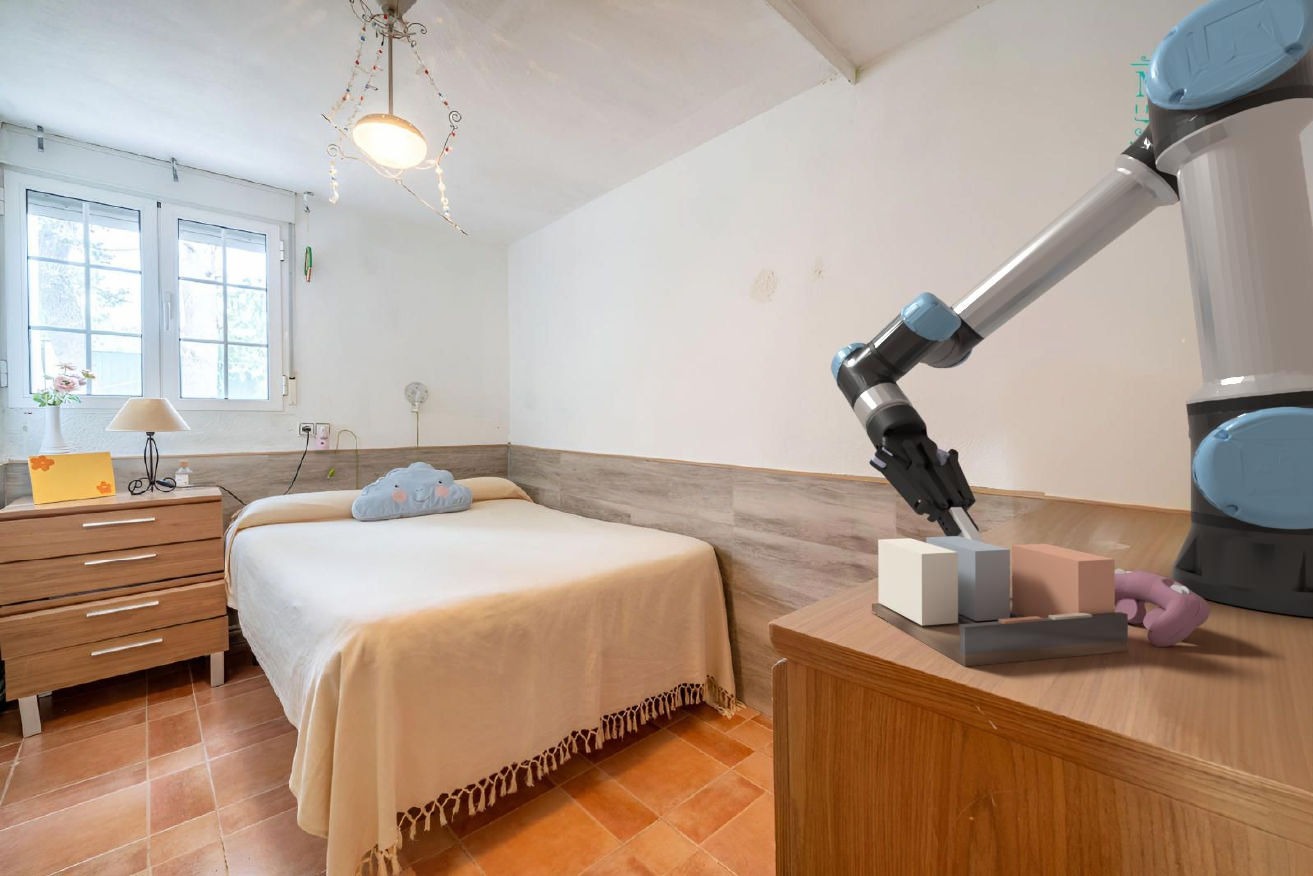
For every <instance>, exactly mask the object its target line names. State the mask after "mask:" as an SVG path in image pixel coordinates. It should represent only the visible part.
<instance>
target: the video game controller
mask: <svg viewBox="0 0 1313 876" xmlns="http://www.w3.org/2000/svg"><path fill="white" fill-rule="evenodd" d="M1145 603H1150V604H1153V605H1155V606H1157V608H1153V609H1151V610H1150V611H1148V612H1147V609H1146V606H1145ZM1115 612H1122V613H1126V614H1128V624H1129V623H1130V624H1129V625H1134V626H1135V625H1140V624H1142V623H1143V626H1144V627H1145V629H1147V639H1148V641H1149V643H1150V644H1151V645H1153V646H1154V647H1159V648H1164V647H1165V648H1166V647H1170V646H1171V647H1173V645H1176V644H1179V643H1181V642H1182V641H1183V640H1185V639H1186V638H1188V637H1189V636H1190V635H1191V634H1192V633H1193V632H1194V630H1195V629H1196V628H1198V627H1199V626H1201V625H1203V624H1205V623H1206V621H1207V620H1208V619H1209V616H1210V614H1211V608H1210V605H1209V603H1208V602H1207V601H1206V600H1205V598H1202V597H1200V596H1198V595H1197V594H1195V593H1194V592H1192V591H1191V590H1190V589H1189V588H1187V587H1185V586H1184V585H1182V584H1180V583H1178V582H1176V581H1174V580H1172V578H1169V577H1166V576H1163V575H1160V574H1156V573H1153V572H1149V571H1144V570H1136V571H1135V570H1134V571H1130V570H1129V571H1127V570H1126V571H1125V570H1124V569H1122V568H1116V569H1115Z"/></svg>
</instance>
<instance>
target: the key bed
mask: <svg viewBox="0 0 1313 876" xmlns="http://www.w3.org/2000/svg"><path fill="white" fill-rule="evenodd" d="M872 611H873V612H875V613H876V614H878V615H879V616H881V617H882V618H884V619H885V620H886V621H885V620H884V619H883V620H884V621H885V622H887V621H888V622H887V623H889V624H890V623H891V624H890V625H892V624H893V625H892V626H894V627H896V628H897V627H898V629H900V630H901V631H903V632H905V633H906V634H908V635H909V636H912V637H913V638H914V639H917V640H918V641H920V642H921V643H924V644H925V645H927V646H929V647H930V648H932V649H934V650H936V651H937V652H939V653H941V654H943V655H944V656H946V657H948V658H949V659H951V660H953V661H955V662H957V663H958V664H960V665H962V666H964V667H974V666H985V665H986V666H987V665H994V664H995V665H996V664H1004V663H1005V664H1006V663H1015V662H1016V663H1017V662H1018V663H1019V662H1028V661H1035V660H1037V661H1038V660H1040V661H1041V660H1049V659H1058V658H1059V659H1060V658H1069V657H1072V658H1073V657H1082V656H1090V655H1092V656H1093V655H1101V654H1111V653H1113V654H1114V653H1123V652H1129V643H1128V641H1129V640H1128V639H1129V631H1128V630H1129V627H1128V625H1129V623H1128V614H1126V613H1122V612H1114V613H1101V614H1088V613H1073V614H1059V615H1048V618H1040V617H1038V616H1033V617H1025V616H1022V615H1020V614H1017V613H1015V612H1012V597H1010V618H1007V619H997V620H984V621H974V620H972V619H970V618H967V617H965V616H963V615H961V614H959V613H958V623H949V624H936V625H923V626H922V625H920V624H918V623H916V622H914V621H912V620H911V619H909V618H907V617H905V616H903V615H901V614H899V613H897V612H896V611H894V610H892V609H890V608H888V607H886V606H884V605H882V604H880V603H879V602H877V603H871V612H872ZM882 618H881V619H882Z"/></svg>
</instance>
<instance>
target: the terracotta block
mask: <svg viewBox="0 0 1313 876" xmlns="http://www.w3.org/2000/svg"><path fill="white" fill-rule="evenodd" d="M1011 561H1012V562H1011V579H1012V580H1011V583H1012V584H1011V588H1012V589H1011V591H1012V595H1011V596H1012V597H1011V598H1012V612H1015V613H1017V614H1020V615H1022V616H1025V617H1033V616H1038V617H1040V618H1048V615H1059V614H1073V613H1088V614H1101V613H1114V612H1115V570H1116V569H1115V558H1111V557H1105V556H1101V555H1097V554H1093V553H1088V552H1084V551H1079V550H1075V549H1070V548H1066V547H1062V546H1056V545H1052V544H1048V543H1028V544H1011Z"/></svg>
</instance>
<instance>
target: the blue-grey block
mask: <svg viewBox="0 0 1313 876" xmlns="http://www.w3.org/2000/svg"><path fill="white" fill-rule="evenodd" d="M925 539H926V541H925V543H928V544H932V545H935V546H939V547H942V548H945V549H949V550H952V551H955V552H958V613H959V614H961V615H963V616H965V617H967V618H970V619H972V620H974V621H984V620H997V619H1007V618H1010V598H1011V549H1010V548H1006V547H1001V546H998V545H994V544H991V543H990V544H989V543H986V542H985V543H982V542H979V541H975V540H971V539H967V538H963V537H959V536H948V537H947V536H931V537H930V536H928V537H926V538H925Z"/></svg>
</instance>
